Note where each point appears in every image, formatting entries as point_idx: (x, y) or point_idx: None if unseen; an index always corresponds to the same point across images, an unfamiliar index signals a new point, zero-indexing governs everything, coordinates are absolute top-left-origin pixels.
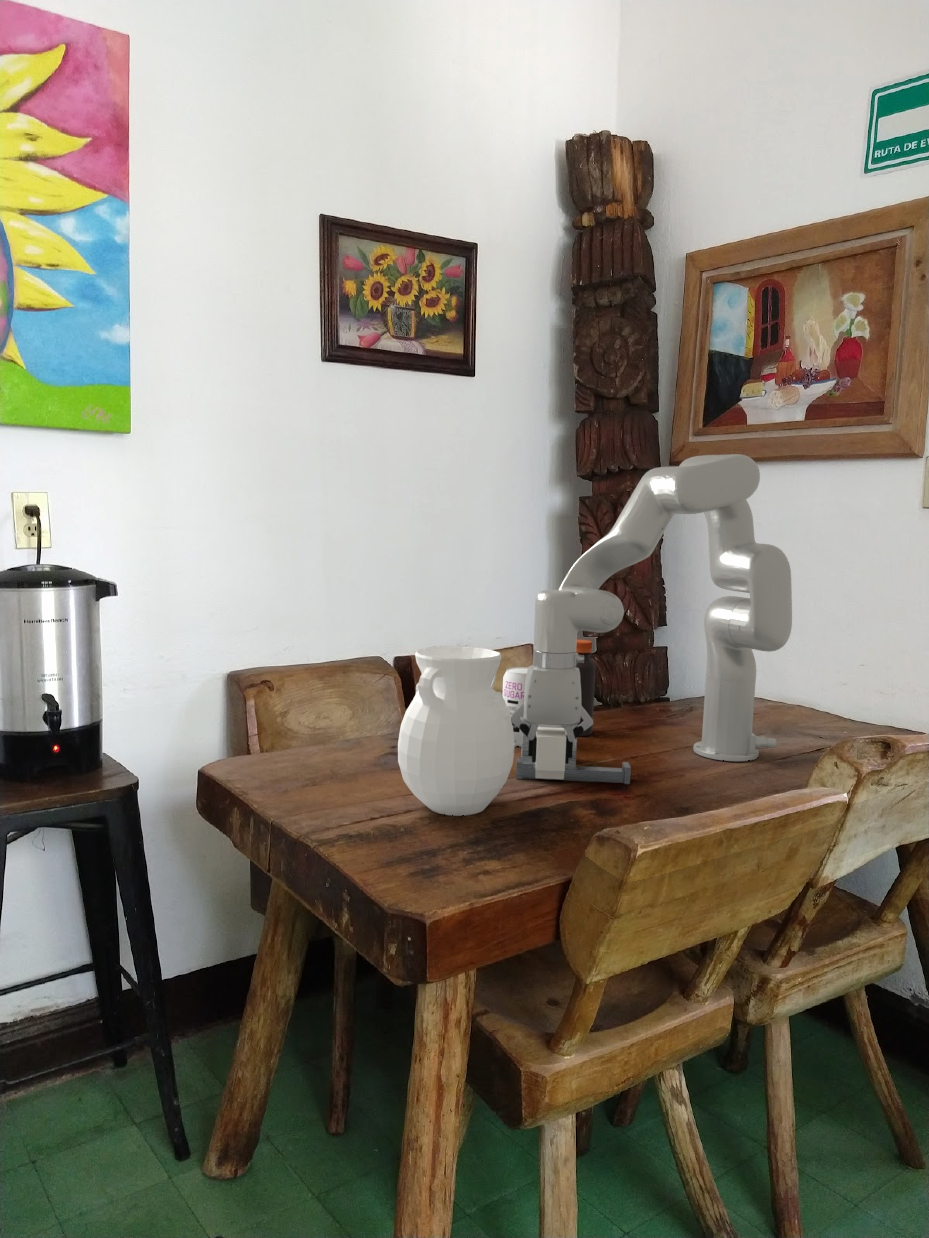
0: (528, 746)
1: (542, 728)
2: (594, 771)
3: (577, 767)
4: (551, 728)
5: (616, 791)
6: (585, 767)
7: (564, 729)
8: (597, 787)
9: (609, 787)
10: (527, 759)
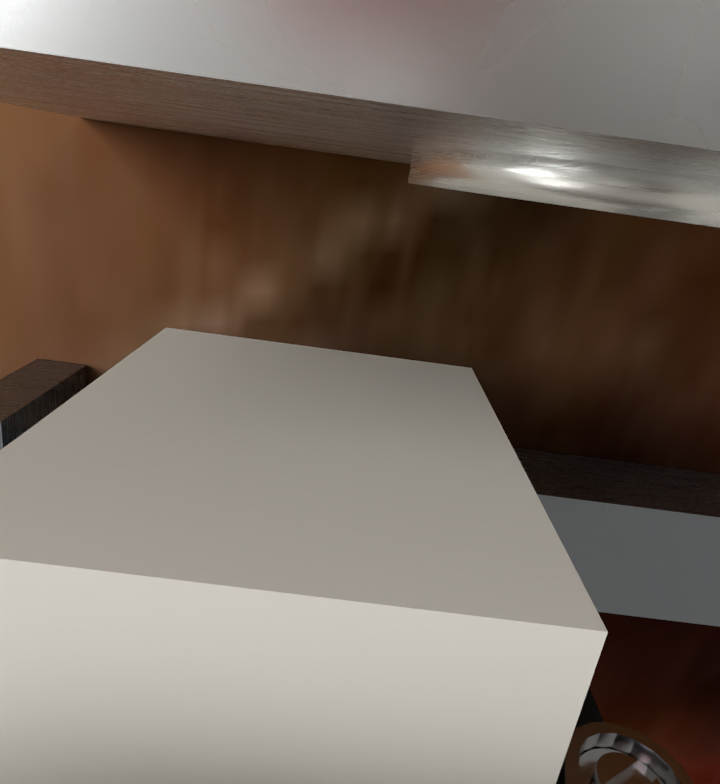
0: (28, 101)
1: (42, 672)
2: (686, 619)
3: (567, 538)
4: (267, 669)
5: (716, 738)
6: (644, 540)
7: (713, 186)
8: (620, 671)
9: (707, 671)
10: (107, 119)
